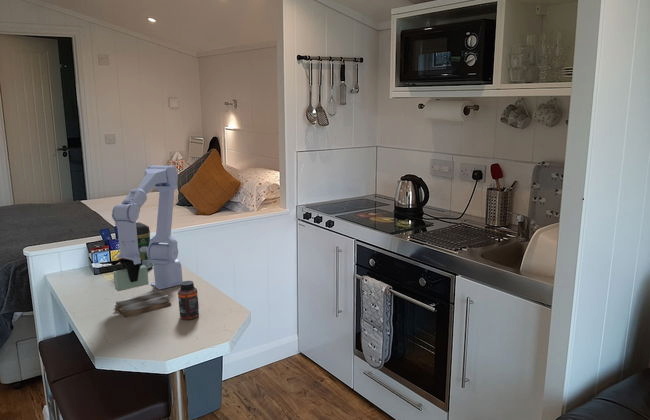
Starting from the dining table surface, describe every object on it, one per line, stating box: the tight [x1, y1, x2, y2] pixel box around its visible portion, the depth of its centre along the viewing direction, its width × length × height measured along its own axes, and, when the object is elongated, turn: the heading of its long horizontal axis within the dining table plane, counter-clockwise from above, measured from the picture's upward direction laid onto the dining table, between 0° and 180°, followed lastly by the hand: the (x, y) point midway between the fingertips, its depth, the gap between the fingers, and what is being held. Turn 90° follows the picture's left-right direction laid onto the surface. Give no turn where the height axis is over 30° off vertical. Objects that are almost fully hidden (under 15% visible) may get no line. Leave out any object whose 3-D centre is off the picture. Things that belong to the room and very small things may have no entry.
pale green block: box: [112, 265, 150, 292], centre depth 173 cm, size 10×3×6 cm, turn 129°
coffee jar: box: [136, 221, 154, 271], centre depth 212 cm, size 10×8×19 cm
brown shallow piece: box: [114, 289, 172, 318], centre depth 174 cm, size 15×10×3 cm, turn 129°
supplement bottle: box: [177, 280, 200, 321], centre depth 164 cm, size 6×6×11 cm
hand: (132, 280), depth 173 cm, fingers closed on pale green block, 3 cm apart
